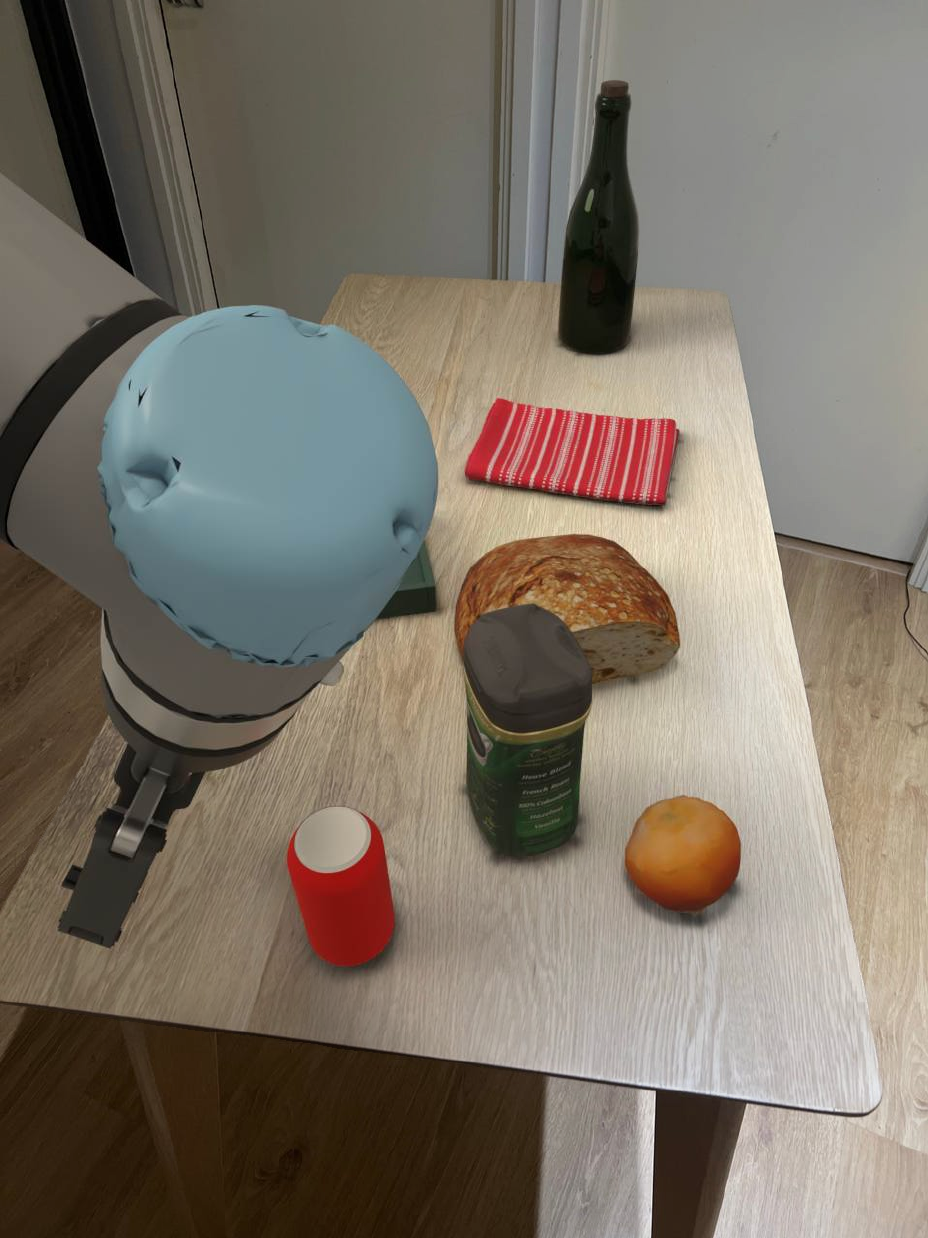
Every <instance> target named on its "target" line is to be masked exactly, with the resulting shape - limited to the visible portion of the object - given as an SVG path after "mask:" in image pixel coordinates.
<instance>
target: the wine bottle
mask: <svg viewBox="0 0 928 1238" xmlns="http://www.w3.org/2000/svg"><path fill="white" fill-rule="evenodd" d="M629 87H630V86H629V82H627V81H625V80H620V79H611V80H605V81H602V82H601V84H600V92H598V94H596V98H595V101H594V102H595V103H594V110H595V114H594V115H595V116H594V125H593V136H592V144H591V151H590V155H589V160H588V164H587V167H586V171H585V174H584V176H583V180H582V181H581V184H580V186H579V189H578V191H577V194H576V195H575V197H574V201H573V203H572V206H571V208H570V211H569V215H568V220H567V223H566V227H565V237H564V244H563V252H562V253H563V255H562V267H561V280H560V292H559V294H560V295H559V307H558V322H557V335H558V339H559V340H560V342H561V344H563V345H564V346H566V347H567V348H568V349H569V348H570V349H571V350H574V351H576V352H579V353H580V352H581V353H586V354H604V353H611V352H614V351H617V350H620V349H621V348H623V347H624V346H625V345H626V344H628V342H629V340H630V337H631V331H632V322H633V321H632V320H633V312H634V304H635V303H634V302H635V294H636V293H635V291H636V279H637V271H638V270H637V269H638V258H639V247H640V246H639V243H640V218H639V210H638V205H637V202H636V198H635V193H634V190H633V186H632V185H633V184H632V181H631V176H630V170H629V162H628V161H629V159H628V143H629V142H628V141H629V125H630V124H629V123H630V114H631V110H632V95H631V94H630V93H629Z"/></svg>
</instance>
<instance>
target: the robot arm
mask: <svg viewBox="0 0 928 1238" xmlns="http://www.w3.org/2000/svg"><path fill="white" fill-rule="evenodd" d="M435 448H436V447H435V444H434V440H433V436H432V432H431V429H430V425H429V423H428V420H427V419H426V416H425V414H424V411H423V410H422V408H421V406H420V404H419V402H418V400H417V399H416V397H415V396H414V393H413V392H412V390H411V389H410V388H409V386H408V384H407V383H406V382H405V381H404V379H403V378H402V377H401V376H400V375H399V373H398V372H397V371H396V370H395V368H394V367H393V366H392V365H391V364H390V363H389V362H388V361H387V360H386V359H385V358H384V357H383V356H382V355H381V354H380V353H379V352H378V351H376V350H375V349H374V348H372V347H371V346H370V345H369V344H367V343H366V342H365V341H363V340H361V339H360V338H358V337H357V336H355V335H354V334H352V333H350V332H349V331H347V330H345V329H344V328H342V327H340V326H338V325H336V324H333V323H332V324H327V325H326V324H325V325H323V324H319V323H315V322H312V321H309V320H305V319H302V318H297V317H294V316H291V315H289V314H288V313H287V311H286V309H283V308H278V307H273V306H270V305H259V304H251V305H249V304H248V305H234V306H231V305H230V306H227V307H226V306H225V307H220V308H215V309H211V310H207V311H204V312H202V313H199V314H196V315H192V316H187V315H183V314H182V312H179V311H178V310H177V309H176V308H175V307H173V305H170V304H168V302H166V300H164V299H163V298H162V297H160V296H159V295H158V294H157V293H155V292H154V291H152V290H151V288H149V287H148V286H146V285H145V284H144V283H142V282H141V281H140V280H138V279H137V278H136V277H134V276H133V275H132V274H131V273H130V272H128V271H127V270H126V269H124V268H123V267H121V265H120V264H118V263H117V262H116V261H114V260H113V259H111V258H110V257H109V256H108V255H107V254H105V253H104V252H103V251H101V250H100V249H99V248H98V247H96V246H95V245H93V244H92V243H91V242H90V241H88V240H87V239H86V238H85V237H83V236H82V235H80V233H78V232H77V231H76V230H75V229H73V228H72V227H70V226H69V225H68V224H67V223H65V222H64V221H63V220H62V219H60V218H59V217H57V216H56V215H55V214H54V213H53V212H51V211H50V210H48V209H47V208H46V207H45V206H44V205H42V204H41V203H40V202H38V201H37V200H36V199H35V198H33V197H32V196H31V195H29V194H28V193H27V192H26V191H25V190H23V189H22V188H21V187H19V186H18V185H16V183H14V182H13V181H12V180H10V179H8V177H6V176H5V175H4V174H2V172H1V171H0V540H1V541H3V542H4V543H6V544H7V545H8V546H10V547H12V548H14V549H15V550H18V551H22V552H23V553H24V554H26V555H27V556H29V558H31V559H33V560H34V561H35V562H37V563H38V564H39V565H41V566H43V567H44V568H45V569H47V570H48V571H49V572H51V573H52V574H54V575H55V576H56V577H58V578H59V579H61V580H62V581H63V582H65V583H67V584H68V585H69V586H70V587H72V588H73V589H75V590H76V591H77V592H79V593H81V594H82V595H83V596H85V597H86V598H87V599H88V600H90V601H92V602H93V603H94V604H96V605H97V606H98V607H100V608H101V609H102V610H101V624H100V638H99V639H100V654H101V655H100V658H101V661H100V663H101V664H100V666H101V667H100V669H101V670H100V688H101V694H102V700H103V704H104V705H105V706H104V707H105V710H106V712H107V715H108V717H109V719H110V721H111V723H112V725H113V726H114V727H115V729H116V730H117V732H118V733H119V734H120V736H121V737H122V738H123V739H124V741H125V742H126V743H127V744H126V746H125V749H124V750H123V753H122V755H121V758H120V760H119V762H118V765H117V767H116V768H115V772H114V774H113V781H114V783H115V784H116V785H117V786H118V787H119V793H118V796H117V798H116V800H115V802H113V803H111V804H110V805H109V807H107V808H106V809H105V811H102V814H99V815H98V817H97V819H96V820H95V823H94V826H93V828H94V831H95V832H94V834H93V836H92V840H91V845H90V848H89V851H88V853H87V856H86V858H85V861H84V864H83V866H82V867H80V866H78V865H76V864H71V866H70V868H69V869H68V871H67V873H66V875H65V877H64V879H63V880H62V882H61V885H60V887H62V888H64V889H68V890H70V891H72V894H71V895H70V898H69V901H68V904H67V905H66V908H65V910H63V911H62V913H61V915H60V917H59V919H58V922H57V923H59V924H58V926H57V932H60V933H62V934H66V935H68V936H72V937H75V938H77V939H80V940H84V941H86V942H89V943H92V944H94V945H98V946H101V947H104V948H107V949H109V950H111V949H112V947H115V944H116V942H117V943H118V942H119V940H120V938H121V935H122V933H123V930H122V929H123V928H122V927H123V924H124V922H125V920H126V918H127V916H128V913H129V912H130V910H131V907H132V906H133V904H136V901H137V899H138V896H139V894H140V892H139V891H140V890H141V888H142V887H143V884H144V882H145V880H146V878H147V876H148V874H149V870H150V868H151V866H152V864H153V863H154V861H155V858H156V856H157V855H159V854H160V853H163V851H164V848H165V846H166V844H167V842H168V840H167V836H168V834H167V832H168V829H169V827H170V825H169V823H170V821H171V819H172V817H173V815H174V813H175V811H177V810H185V809H187V808H188V807H190V806H191V804H192V802H193V800H194V798H195V795H196V793H197V791H198V789H199V788H200V785H201V783H202V781H203V779H204V777H205V775H206V773H207V772H213V771H214V772H215V771H219V770H224V769H228V768H231V767H235V766H237V765H239V764H242V763H244V762H246V761H249V760H250V759H252V758H253V757H255V756H257V755H259V753H261V752H263V750H266V748H267V747H268V746H269V745H271V743H272V742H273V741H275V739H276V738H277V737H278V736H279V735H280V733H281V732H282V731H283V730H284V728H285V727H286V726H287V725H288V723H289V722H291V720H292V719H293V717H294V716H295V715H296V713H297V712H298V710H299V709H300V707H301V705H302V704H303V703H304V702H305V701H306V699H308V697H309V696H310V695H311V693H312V692H313V691H314V689H316V688H317V687H318V685H323V686H329V687H335V686H336V685H338V684H339V683H340V681H341V680H342V677H343V675H344V672H345V666H344V663H342V662H341V660H342V658H343V657H344V656H345V655H346V654H347V653H348V652H349V651H350V649H351V648H352V647H353V646H354V645H355V644H357V643H358V642H359V641H361V640H362V638H364V634H365V633H366V631H367V630H368V629H369V628H370V627H371V626H372V625H373V623H374V622H375V621H376V620H377V619H376V618H377V617H378V615H379V614H380V613H381V611H382V610H383V609H384V607H385V606H386V604H387V602H388V601H389V600H390V598H391V597H392V596H393V594H394V593H395V592H396V590H397V589H398V588H399V585H400V583H401V581H402V578H403V577H404V575H405V574H406V572H407V571H408V569H409V568H410V566H411V565H412V563H413V562H414V560H415V559H416V556H417V554H418V552H419V549H420V547H421V545H422V543H423V541H424V539H425V540H426V538H427V536H428V533H429V531H430V528H431V526H432V522H433V519H434V515H435V511H436V506H437V502H438V501H437V500H438V491H439V462H438V458H437V454H436V449H435Z"/></svg>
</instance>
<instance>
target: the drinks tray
mask: <svg viewBox="0 0 928 1238" xmlns="http://www.w3.org/2000/svg"><path fill="white" fill-rule="evenodd" d="M436 593H437V592H436V584H435V579H434V575H433V570H432V567H431V562H430V557H429V553H428V548H427V543H426V538H425V539H424V541H423V543H422V545H421V547H420V549H419V552H418V554H417V556H416V559H415V560H414V562H413V563H412V565H411V566H410V568H409V569H408V571H407V572H406V574H405V575H404V577H403V578H402V581H401V583H400V585H399V588H398V589H397V590H396V592H395V593H394V594H393V596H392V597H391V598H390V600H389V601H388V602H387V604H386V606H385V607H384V609H383V610H382V611H381V613H380V614H379V615H378V617H377V618H376V619H375V620H377V619H378V620H379V619H385V618H393V617H401V616H408V615H409V616H410V615H415V614H422V613H431V612H437V597H436V596H437V594H436Z"/></svg>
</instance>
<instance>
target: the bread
mask: <svg viewBox="0 0 928 1238" xmlns="http://www.w3.org/2000/svg"><path fill="white" fill-rule="evenodd" d="M670 599H671V598H670V596H669V594H668V593H667V592H666V591H665V590H664V588H663V587H662V586H661V584H660V583H659V582H658V581H657V579H656V578H655V577H654V576H653V575H652V574H651V573H650V572H649V571H648V570H647V569H646V568H645V567H643V566H642V565H641V563H640V562H638V561H637V559H636V558H635V557H634V556H633V555H632V554H631V553H630V551H628V550H627V549H626V548H624V547H623V546H622V545H620V544H619V543H618V542H616V541H614V540H611V539H608V538H605V537H602V536H598V535H593V534H585V533H584V534H583V533H581V534H580V533H570V534H560V535H549V536H540V537H539V536H538V537H530V538H523V539H516V540H512V541H509V542H506V543H502V544H500V545H497V546H496V547H494V548H493V549H491V550H490V551H488V552H486V553H485V554H484V555H482V556H481V557H480V558H479V559H478V560H477V561H475V562H474V563H473V564H472V565H471V566H470V567H469V568H468V570H467V572H466V575H465V577H464V579H463V582H462V584H461V587H460V590H459V593H458V597H457V600H456V604H455V611H454V626H453V627H454V628H453V631H454V636H455V641H456V646H457V649H458V652H459V654H460V657H461V661H463V655H464V644H465V638H466V635H467V633H468V631H469V629H470V627H471V626H472V625H473V624H474V622H475V621H476V620H478V619H479V618H480V616H481V615H482V614H485V613H488V612H491V611H495V610H498V609H502V608H507V607H512V606H518V605H524V604H531V603H534V604H536V605H537V606H539V607H542V608H544V609H546V610H548V611H550V612H552V613H554V614H555V615H557V616H558V617H559V618H560V619H561V620H563V621H564V623H565V624H566V625H567V626H568V628H569V629H570V631H571V632H572V634H573V635H574V637H575V638H576V639H577V641H578V643H579V644H580V646H581V648H582V650H583V652H584V654H585V656H586V658H587V660H588V662H589V664H590V666H591V669H592V685H595V684H599V683H603V682H607V681H610V680H615V679H619V678H627V677H634V676H640V675H644V674H649V673H652V672H654V671H656V670H658V669H661V668H662V667H664V666H665V665H667V664H669V663H670V662H671V661H672V660H673V659H674V658H675V656H676V654H678V652H679V649H680V648H681V637H680V632H679V626H678V619H677V612H676V611H675V609H674V606H673V605H672V602H671V600H670Z"/></svg>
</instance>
